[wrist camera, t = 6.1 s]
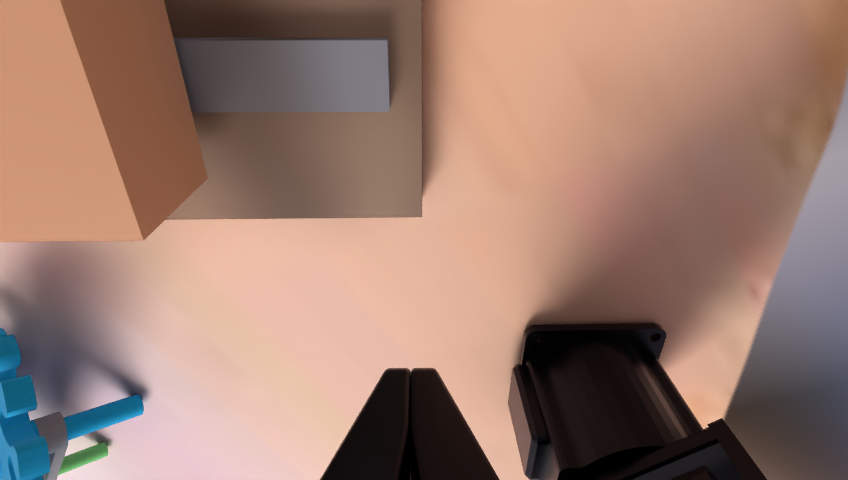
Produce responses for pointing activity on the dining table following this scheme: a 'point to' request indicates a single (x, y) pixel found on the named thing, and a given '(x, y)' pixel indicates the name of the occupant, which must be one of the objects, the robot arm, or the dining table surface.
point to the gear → (46, 425)
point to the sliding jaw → (92, 121)
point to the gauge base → (303, 106)
